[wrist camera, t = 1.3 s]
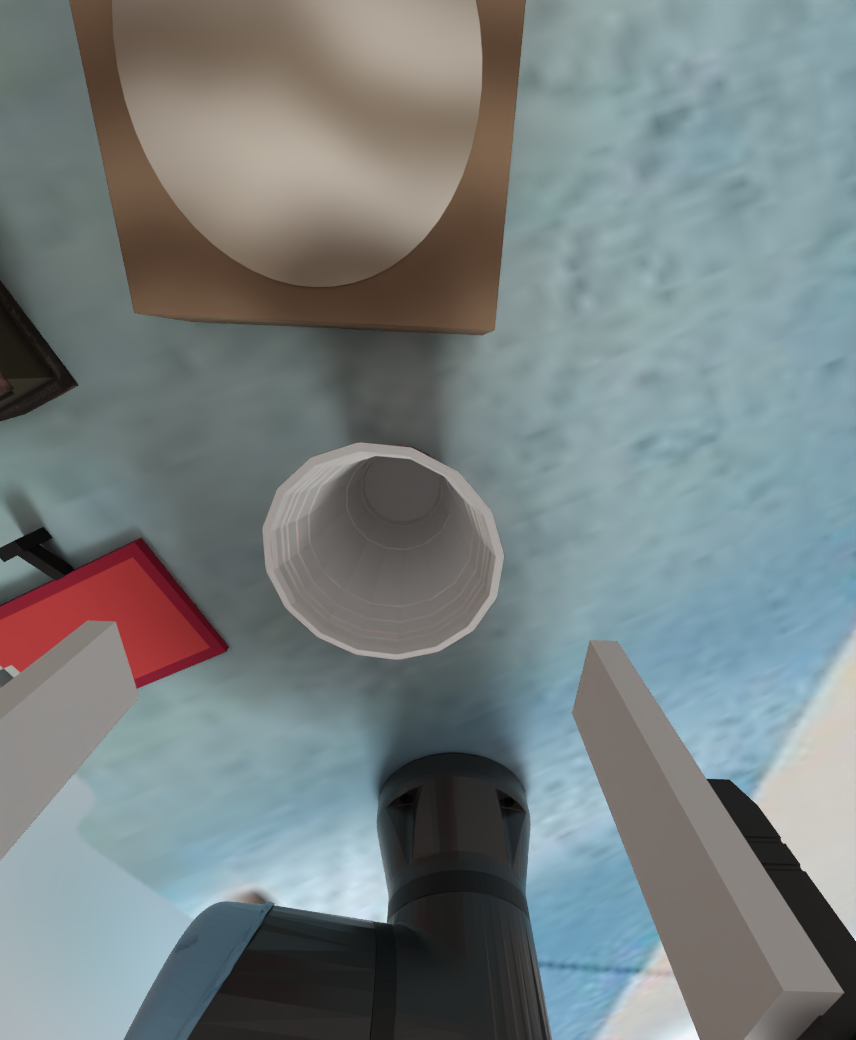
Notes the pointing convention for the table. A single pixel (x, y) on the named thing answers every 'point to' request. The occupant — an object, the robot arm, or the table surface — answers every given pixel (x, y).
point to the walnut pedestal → (307, 156)
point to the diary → (26, 363)
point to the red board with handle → (105, 611)
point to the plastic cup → (382, 551)
